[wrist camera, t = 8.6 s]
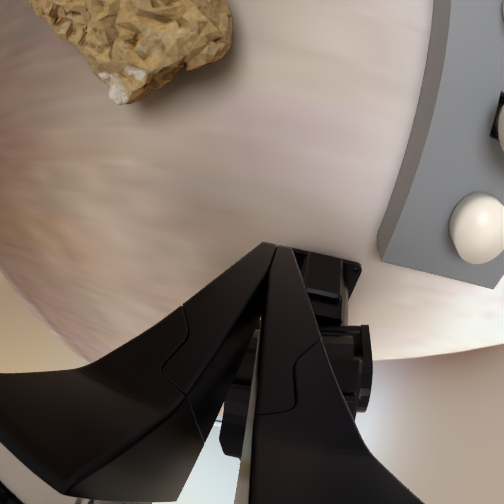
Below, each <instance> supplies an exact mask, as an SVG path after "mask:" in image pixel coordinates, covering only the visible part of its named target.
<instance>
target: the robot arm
mask: <svg viewBox="0 0 504 504" xmlns="http://www.w3.org/2000/svg"><path fill="white" fill-rule="evenodd" d="M354 268H357V269H356V270H354ZM361 271H362V267H361V265H360V264H359V263H357V262H352V261H348V260H344V259H339V258H335V257H330V256H326V255H322V254H317V253H313V252H308V251H303V250H299V249H294V248H290V247H285V246H281V245H279V246H276V245H275V244H272V243H267V242H262V243H261V244H259V245H258V246H257V247H256V248H254V249H253V250H252V251H250V252H249V253H248V254H247V255H245V256H244V257H243V258H241V259H240V260H239V261H238V262H236V263H235V264H234V265H232V266H231V267H230V268H229V269H227V270H226V271H225V272H223V273H222V274H221V275H220V276H218V277H217V278H216V279H214V280H213V281H212V282H211V283H209V284H208V285H207V286H205V287H204V288H203V289H202V290H200V291H199V292H198V293H196V294H195V295H194V296H193V297H191V298H190V299H189V300H188V301H186V302H185V303H184V304H183V306H180V307H178V308H177V309H176V310H175V311H173V312H172V313H171V314H169V315H168V316H167V317H165V318H164V319H162V320H161V321H160V322H158V323H157V324H156V325H154V326H153V327H151V328H149V329H148V330H146V331H145V332H143V333H142V334H140V335H139V336H137V337H135V338H134V339H132V340H130V341H129V342H127V343H125V344H124V345H122V346H120V347H119V348H117V349H115V350H114V351H112V352H110V353H109V354H107V355H105V356H104V357H102V358H100V359H99V360H97V361H95V362H93V363H91V364H88V365H86V366H83V367H80V368H76V369H70V370H60V371H48V372H31V373H4V374H3V373H0V504H152V502H173V501H176V500H177V499H178V497H179V495H180V493H181V491H182V488H183V487H184V485H185V483H186V481H187V479H188V477H189V475H190V473H191V471H192V469H193V467H194V464H195V462H196V460H197V458H198V456H199V454H200V452H201V450H202V448H203V446H204V443H205V442H206V439H207V437H208V435H209V433H210V431H211V429H212V427H213V424H214V422H215V420H216V418H217V416H218V414H219V411H220V409H221V407H222V405H223V403H224V413H223V419H222V425H221V430H220V436H219V441H220V444H221V446H222V450H223V452H224V454H225V455H228V456H233V457H237V458H239V459H240V461H241V462H240V469H239V475H238V482H237V488H236V494H235V500H234V504H424V503H423V502H422V501H421V500H420V499H419V498H418V497H417V496H415V495H414V494H413V493H412V492H411V491H410V490H409V489H407V487H405V486H404V485H403V484H402V483H401V482H400V481H399V480H398V479H397V478H396V477H395V476H394V475H393V474H392V473H390V472H389V471H388V470H387V469H386V468H385V467H384V466H383V465H382V464H381V463H380V462H379V461H378V460H377V459H376V458H375V457H374V456H373V455H372V453H371V452H370V451H369V449H368V448H367V446H366V445H365V443H364V441H363V439H362V437H361V435H360V433H359V431H358V428H357V426H356V424H355V417H356V412H365V411H366V409H367V406H368V403H369V398H370V393H371V386H372V374H373V363H372V351H371V342H370V333H369V325H361V326H348V300H349V298H350V296H351V294H352V292H353V289H354V287H355V285H356V283H357V281H358V278H359V276H360V274H361ZM261 314H262V315H261ZM260 317H261V320H260Z"/></svg>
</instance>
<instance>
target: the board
mask: <svg viewBox="0 0 504 504" xmlns="http://www.w3.org/2000/svg"><path fill="white" fill-rule="evenodd" d="M502 6H503V0H434V7H433V18H432V28H431V36H430V43H429V50H428V56H427V62H426V68H425V74H424V79H423V84H422V89H421V93H420V98H419V103H418V107H417V111H416V115H415V119H414V123H413V127H412V131H411V135H410V138H409V142H408V146H407V149H406V153H405V156H404V159H403V163H402V166H401V169H400V172H399V175H398V178H397V182H396V185H395V188H394V191H393V193H392V196H391V199H390V202H389V205H388V208H387V211H386V213H385V216H384V219H383V221H382V224H381V227H380V229H379V232H378V234H377V240H378V245H379V252H380V258H381V261H382V262H386V263H390V264H394V265H399V266H403V267H407V268H411V269H415V270H419V271H423V272H427V273H431V274H435V275H439V276H443V277H447V278H451V279H455V280H459V281H463V282H467V283H471V284H475V285H478V286H482V287H486V288H490V289H494V288H495V286H496V285H497V283H498V282H499V281H500V279H501V278H502V276H503V275H504V250H503V251H502V252H501V253H500V254H499V255H498V256H497V257H495V258H494V259H492V260H491V261H488V262H486V263H482V264H471V263H468V262H466V261H464V260H463V259H462V258H461V257H460V255H459V253H458V251H457V249H456V247H455V245H454V243H453V241H452V238H451V236H450V231H449V224H450V219H451V216H452V213H453V211H454V209H455V208H456V206H457V205H458V204H459V203H460V202H461V201H462V200H463V199H464V198H465V197H467V196H468V195H470V194H473V193H476V192H488V193H490V194H492V195H494V196H495V197H496V198H497V199H498V200H499V201H500V203H501V204H502V205H503V206H504V152H503V150H502V147H501V145H500V141H499V139H498V138H496V137H495V136H493V135H491V134H490V133H491V129H492V126H493V122H494V118H495V115H496V111H497V106H498V102H499V98H500V97H502V98H504V16H503V9H502Z"/></svg>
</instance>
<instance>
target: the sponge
mask: <svg viewBox="0 0 504 504" xmlns="http://www.w3.org/2000/svg"><path fill="white" fill-rule="evenodd" d="M28 1H29V3H30V4H31V6H32V7H33V8H34V11H35V12H36V14H37V15H38V16H39V17H40V18H41V19H42V20H43V21H44V22H46V23H48V24H49V25H50V26H51V27H53V29H54V31H55V33H56V34H57V35H58V36H59V37H60V38H61V39H62V40H66V41H67V42H69V43H70V44H72V45H73V46H75V47H76V48H78V50H79V51H80V52H81V53H82V54H83V55H84V57H85V58H86V59H87V61H88V63H89V64H90V66H91V70H92V72H93V73H94V74H95V75H96V76H97V77H98V78H99V79H100V80H102V81H103V82H104V83H105V84H106V85H107V86H108V87H109V88H110V92H109V98H110V99H111V100H112V101H113V102H114V103H115V104H116V105H122V104H131V103H134V102H136V101H139V100H140V99H142V98H143V97H145V96H146V95H148V94H149V93H150V92H151V90H152V89H160V88H162V86H163V85H164V84H166V83H168V82H170V81H172V80H173V75H174V74H176V73H177V72H178V71H179V70H180V69H182V68H183V67H184V68H185V69H186V70H187V71H188V70H192V69H200V68H201V67H202V66H203V65H205V64H207V63H209V62H210V64H211V63H213V62H215V61H217V60H219V59H221V58H223V56H224V55H225V54H226V52H227V51H228V50H229V48H230V47H231V42H232V31H233V26H232V16H231V12H230V9H229V5H228V3H227V0H28Z"/></svg>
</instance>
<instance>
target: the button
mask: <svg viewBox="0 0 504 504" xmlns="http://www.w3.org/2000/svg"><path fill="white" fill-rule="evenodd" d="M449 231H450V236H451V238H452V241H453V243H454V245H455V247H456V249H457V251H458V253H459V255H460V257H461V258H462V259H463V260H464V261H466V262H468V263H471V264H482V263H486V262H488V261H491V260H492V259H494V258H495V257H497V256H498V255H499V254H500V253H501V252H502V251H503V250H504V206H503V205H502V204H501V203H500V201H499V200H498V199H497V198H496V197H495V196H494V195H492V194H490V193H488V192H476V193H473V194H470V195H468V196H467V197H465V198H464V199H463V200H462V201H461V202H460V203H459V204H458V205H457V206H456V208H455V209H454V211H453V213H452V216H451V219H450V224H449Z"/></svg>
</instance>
